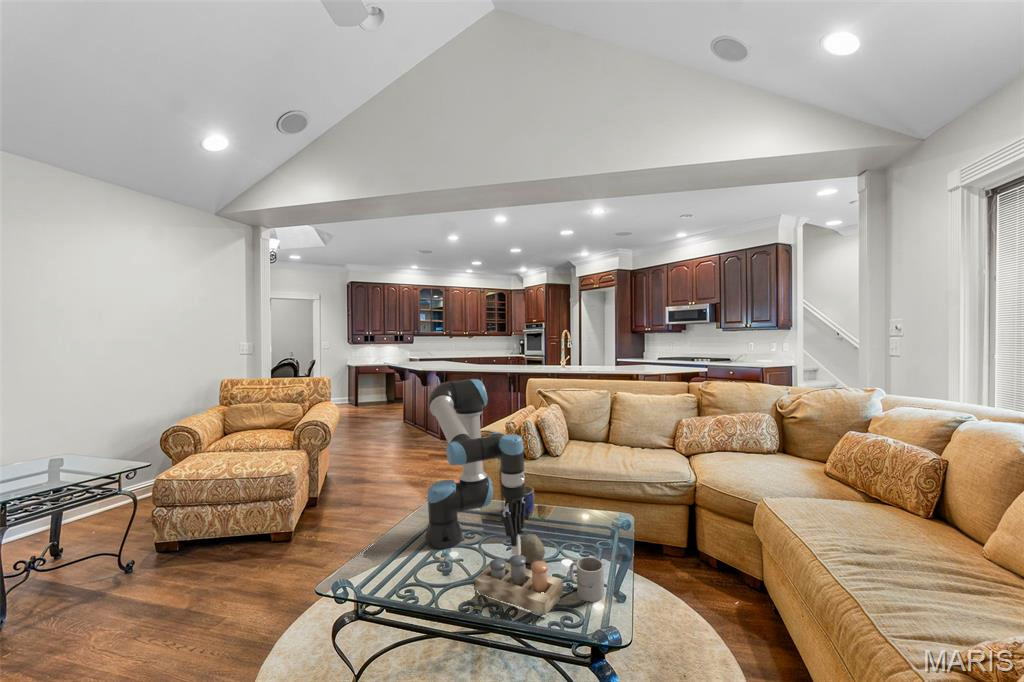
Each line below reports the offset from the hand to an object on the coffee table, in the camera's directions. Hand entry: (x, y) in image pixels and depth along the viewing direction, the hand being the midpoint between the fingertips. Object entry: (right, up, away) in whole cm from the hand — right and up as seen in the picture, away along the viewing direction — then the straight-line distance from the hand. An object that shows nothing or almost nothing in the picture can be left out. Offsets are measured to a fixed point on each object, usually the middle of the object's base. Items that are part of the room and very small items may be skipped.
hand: (516, 553), depth 147 cm
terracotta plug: (+8, -9, -3) cm, 12 cm away
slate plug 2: (+1, -9, +1) cm, 9 cm away
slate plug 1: (-6, -12, +5) cm, 15 cm away
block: (+1, -14, +1) cm, 14 cm away
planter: (+4, -9, +58) cm, 59 cm away
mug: (+23, -13, +2) cm, 27 cm away
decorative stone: (+6, -13, +19) cm, 24 cm away
